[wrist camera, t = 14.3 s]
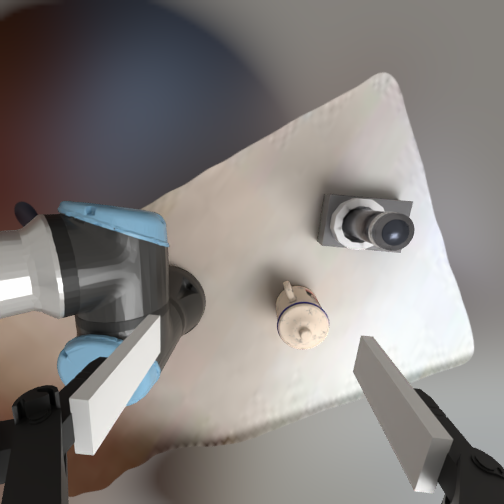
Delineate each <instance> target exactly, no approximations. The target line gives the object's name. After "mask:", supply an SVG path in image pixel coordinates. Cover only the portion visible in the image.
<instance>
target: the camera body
mask: <svg viewBox="0 0 504 504" xmlns="http://www.w3.org/2000/svg"><path fill="white" fill-rule="evenodd" d="M412 203H413V202H412V201H401V200H389V199H378V198H367V197H355V196H344V195H333V194H324V201H323V207H322V214H321V220H320V227H319V233H318V240H317V242H319V243H320V244H321V245H322V246H333V247H343V248H348V249H354V250H364V249H365V250H376V251H387V252H397V253H401V249H400V250H396V251H389V250H384V249H381V248H379V247H376V246H375V245H373V244H371V243H368V242H366V241H364V240H361V239H359V238H356V237H354V236H351V235H349V234H347V233H345V232H344V231H343V230H342V222H343V218H344V217H345V215H346V214H347V213H348V212H349V210H351V209H354V208H358V209H366V210H375V211H383V212H397V213H400V214H404V215H406V216H408V217H409V216H410V212H411V208H412Z"/></svg>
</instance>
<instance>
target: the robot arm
mask: <svg viewBox="0 0 504 504" xmlns="http://www.w3.org/2000/svg"><path fill="white" fill-rule="evenodd" d="M58 212H60V214H52V215H51V214H50V215H37V216H36V217H35V218H34V219H33V220H32V221H30V222H29V223H28V224H27V225H26V226H25V227H24V228H22V229H19V230H14V231H0V319H1V318H5V317H10V316H14V315H18V314H22V313H26V312H31V311H39V312H43V313H45V314H47V315H50V316H52V317H55V318H57V319H61V318H65V317H68V316H72V315H75V321H76V328H77V336H76V337H75V338H73V339H72V340H70V341H69V342H68V343H67V344H66V345H65V347H64V349H63V350H62V351H61V353H60V354H59V357H58V361H57V369H58V373H59V376H60V378H61V380H62V382H63V383H64V384H65V387H64V388H63V389H62V390H61V391H60V392H59V391H58V389H57V387H55V386H52V385H45V386H41V387H37V388H34V389H32V390H29V391H28V392H26V393H24V394H23V395H21V396H20V397H19V398H18V399H17V400H16V401H15V402H14V404H13V406H12V411H13V417H14V419H11V420H6V421H0V484H4V483H5V486H4V491H3V497H2V503H1V504H68V472H67V451H68V450H69V449H70V447H71V446H72V445H73V443H74V445H75V453H77V454H86V455H94V454H95V452H96V451H97V449H98V448H99V446H100V445H101V443H102V442H103V440H104V439H105V437H106V435H107V434H108V432H109V431H110V429H111V428H112V426H113V425H114V423H115V422H116V420H117V418H118V417H119V415H120V414H121V412H122V411H123V409H124V408H125V406H129V405H132V404H134V403H136V402H138V400H140V399H142V398H143V397H144V396H145V395H146V394H147V393H148V392H149V390H150V389H151V388H152V386H153V385H154V384H155V383H156V382H157V380H158V379H159V376H160V373H161V371H162V370H163V368H164V366H165V364H166V362H167V361H168V359H169V357H170V355H171V353H172V352H173V350H174V348H175V346H176V345H177V343H178V341H179V339H180V337H181V336H183V335H184V334H186V333H188V332H190V331H191V330H192V329H193V328H194V327H195V326H196V325H197V324H198V323H199V321H200V319H201V317H202V315H203V313H204V310H205V304H206V300H205V294H204V291H203V289H202V286H201V285H200V283H199V282H198V281H197V279H196V278H195V277H194V276H192V275H191V274H190V273H188V272H187V271H185V270H183V269H180V268H177V267H172V266H169V262H168V247H169V243H168V242H167V231H166V223H165V220H164V219H163V217H162V216H161V215H159V214H157V213H155V212H151V211H145V210H139V209H131V208H124V207H117V206H109V205H101V204H91V203H82V202H71V201H63V202H61V203H60V207H59V208H58ZM353 373H354V375H355V376H356V378H357V380H358V382H359V384H360V386H361V388H362V390H363V392H364V394H365V396H366V398H367V400H368V402H369V404H370V406H371V408H372V409H373V412H374V413H375V415H376V417H377V419H378V421H379V423H380V425H381V427H382V429H383V431H384V433H385V435H386V437H387V439H388V441H389V443H390V444H391V446H392V448H393V450H394V452H395V454H396V456H397V458H398V460H399V462H400V464H401V466H402V468H403V470H404V472H405V474H406V475H407V478H408V480H409V482H410V484H411V485H412V487H413V489H414V491H417V492H425V493H434V491H435V489H436V486H437V483H439V484H440V486H441V488H442V489H443V491H444V493H445V495H444V498H443V501H442V503H441V504H504V469H503V467H502V466H501V465H500V464H499V463H498V462H497V461H496V460H495V459H493V458H492V457H491V456H489V455H488V454H486V453H485V452H483V451H481V450H478V449H476V448H473V447H472V446H471V445H470V444H469V443H468V441H467V440H466V439H465V438H464V436H463V435H462V434H461V433H460V432H459V430H458V429H457V428H456V427H455V426H454V424H453V423H452V422H451V421H450V420H449V419H448V418H447V417H446V415H445V414H444V412H443V411H442V410H441V409H439V406H438V405H437V404H436V403H435V402H434V400H433V399H432V398H431V397H430V396H428V395H427V394H426V393H425V392H423V391H422V390H421V389H414V388H413V387H412V386H411V385H410V384H409V382H408V381H407V380H406V378H405V377H404V376H403V375H402V373H401V372H400V371H399V369H398V368H397V367H396V366H395V364H394V363H393V362H392V360H391V359H390V358H389V357H388V355H387V354H386V353H385V351H384V350H383V349H382V348H381V346H380V345H379V344H378V343H377V341H376V340H375V339H374V337H370V336H361V338H360V343H359V347H358V352H357V356H356V361H355V366H354V370H353Z"/></svg>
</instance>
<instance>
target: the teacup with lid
mask: <svg viewBox="0 0 504 504" xmlns="http://www.w3.org/2000/svg"><path fill="white" fill-rule="evenodd" d="M283 287H284V290H283V291H282V292H281V293H280V295H279V296H278V298H277V301H276V311H277V319H278V322H277V330H278V333H279V336H280V337H281V339H282V340H283V341H284V342H285V343H286V344H287V345H289V346H291V347H293V348H296V349H302V350H304V349H311V348H314V347H316V346H318V345H319V344H320V343H322V342H323V340H324V339H325V338H326V336H327V334H328V331H329V319H328V316H327V314H326V313H325V311H324V310H323V309H322V308H321V306H320V304H319V302H318V300H317V298H316V296H315V295H314V293H313V292H312V291H311V290H309V289H308V288H306V287H302V286H291V284H290V282H289V281H285V282H283Z"/></svg>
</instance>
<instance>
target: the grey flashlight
mask: <svg viewBox="0 0 504 504" xmlns="http://www.w3.org/2000/svg"><path fill="white" fill-rule="evenodd" d="M342 230H343V231H344V232H345V233H347V234H349V235H351V236H354V237H356V238H359V239H361V240H364V241H366V242H368V243H371V244H373V245H375V246H376V247H379V248H381V249H384V250H389V251H396V250H400V249H402V248H404V247H405V246H407V245H408V244H409V243H410V241H411V240H412V238H413V235H414V224H413V222H412V220H411V219H410V218H409V217H408V216H406V215H404V214H400V213H397V212H383V211H375V210H366V209H358V208H354V209H351V210H349V212H348V213H347V214H346V215H345V217H344V218H343V222H342Z"/></svg>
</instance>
